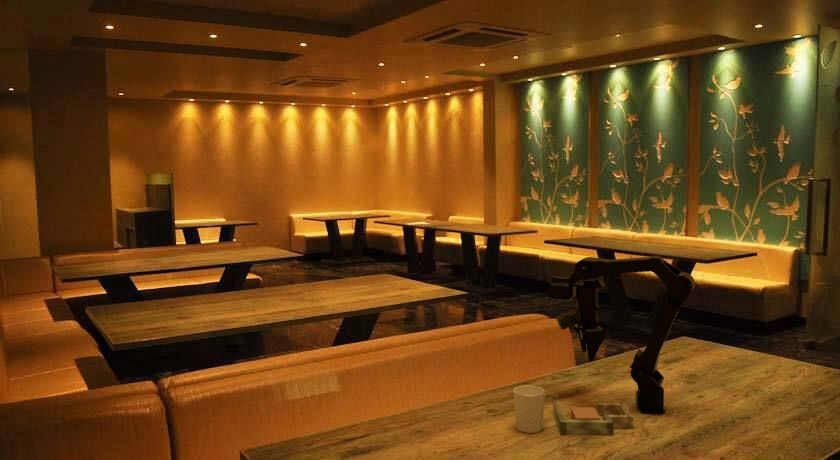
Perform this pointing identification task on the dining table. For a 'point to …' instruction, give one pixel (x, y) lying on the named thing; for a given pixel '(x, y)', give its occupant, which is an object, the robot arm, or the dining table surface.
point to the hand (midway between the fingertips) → (587, 356)
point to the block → (584, 414)
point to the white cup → (529, 408)
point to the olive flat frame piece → (612, 418)
